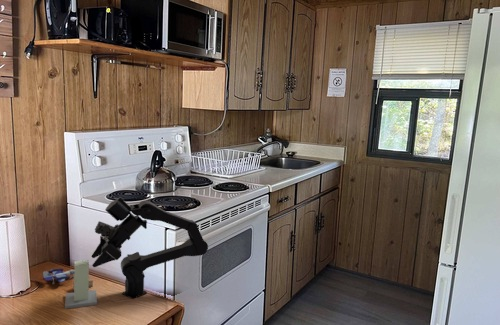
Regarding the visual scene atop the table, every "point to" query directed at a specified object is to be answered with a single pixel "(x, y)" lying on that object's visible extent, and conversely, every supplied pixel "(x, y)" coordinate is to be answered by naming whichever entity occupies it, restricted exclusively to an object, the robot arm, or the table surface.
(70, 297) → the slate tile
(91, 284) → the brown block
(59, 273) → the toy airplane
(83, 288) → the sage green pillar
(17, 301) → the table surface
